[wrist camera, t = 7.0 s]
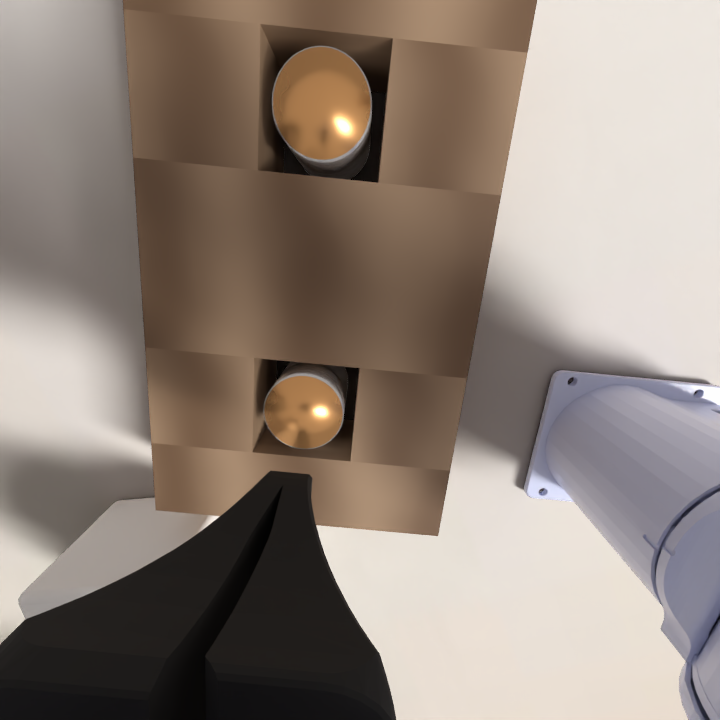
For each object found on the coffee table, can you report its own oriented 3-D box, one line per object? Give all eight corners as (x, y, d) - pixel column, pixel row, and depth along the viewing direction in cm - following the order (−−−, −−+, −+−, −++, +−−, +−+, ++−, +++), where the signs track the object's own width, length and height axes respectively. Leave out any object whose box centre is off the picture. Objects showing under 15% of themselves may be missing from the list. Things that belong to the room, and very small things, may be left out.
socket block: (502, 6, 16) (552, -85, 12) (424, 482, 23) (437, 535, 18) (182, -28, 16) (114, -134, 12) (195, 461, 22) (155, 510, 18)
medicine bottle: (115, 498, 23) (-130, 735, 12) (225, 489, 23) (85, 723, 12) (144, 587, 25) (-42, 867, 14) (246, 580, 25) (144, 859, 13)
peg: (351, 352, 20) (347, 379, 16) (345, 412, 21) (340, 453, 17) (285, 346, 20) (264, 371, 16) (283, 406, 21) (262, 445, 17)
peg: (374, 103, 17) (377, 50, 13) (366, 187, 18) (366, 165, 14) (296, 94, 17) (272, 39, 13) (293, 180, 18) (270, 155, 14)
